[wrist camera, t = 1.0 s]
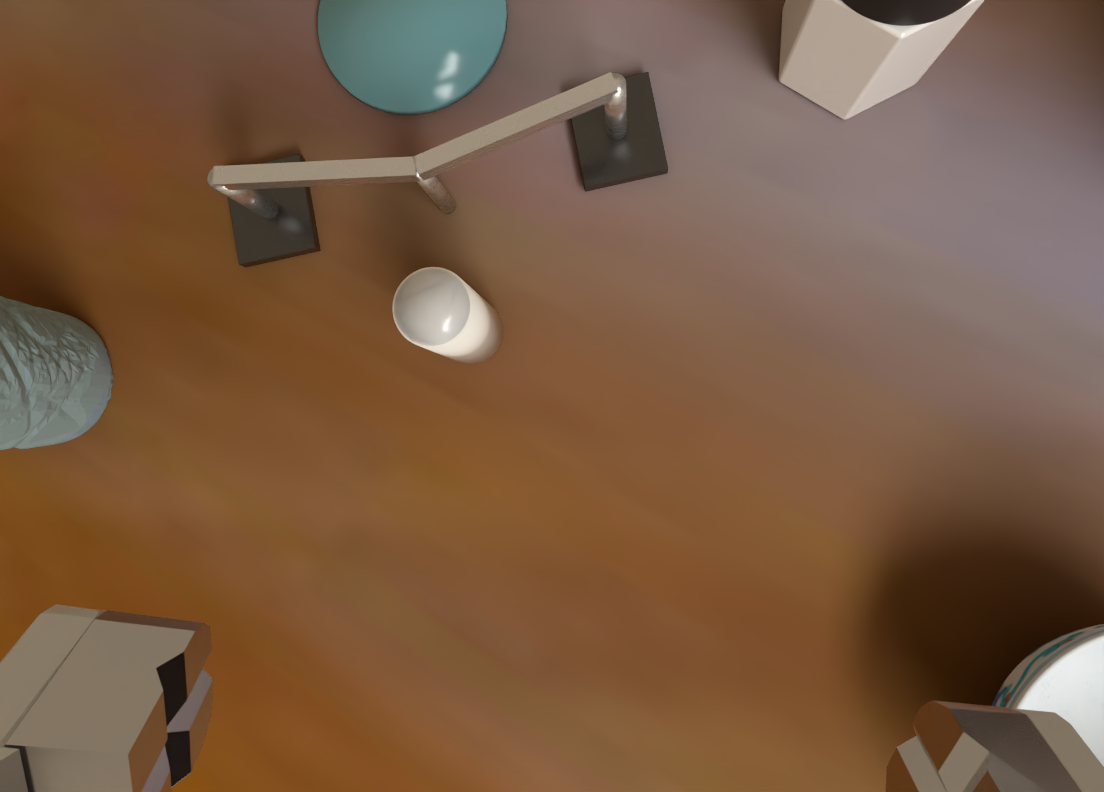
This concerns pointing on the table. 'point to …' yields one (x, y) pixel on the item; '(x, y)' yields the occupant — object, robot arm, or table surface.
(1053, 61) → the table surface
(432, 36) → the saucer
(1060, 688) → the chinaware
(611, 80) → the bent bar stand
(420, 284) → the salt shaker
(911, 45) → the jar
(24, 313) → the grey-green open cylinder
